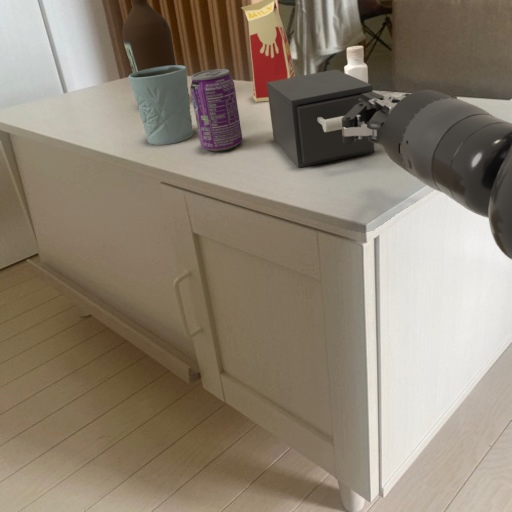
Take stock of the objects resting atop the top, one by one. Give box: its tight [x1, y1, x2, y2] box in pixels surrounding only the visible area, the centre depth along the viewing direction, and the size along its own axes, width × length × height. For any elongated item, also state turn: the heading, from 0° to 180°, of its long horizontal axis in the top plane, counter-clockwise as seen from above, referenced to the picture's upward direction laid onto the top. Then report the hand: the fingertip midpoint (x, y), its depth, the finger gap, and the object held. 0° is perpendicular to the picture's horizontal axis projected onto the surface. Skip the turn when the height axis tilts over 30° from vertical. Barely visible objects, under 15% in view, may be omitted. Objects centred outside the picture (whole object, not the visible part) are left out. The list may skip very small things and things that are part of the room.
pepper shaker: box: [343, 45, 369, 84], centre depth 105 cm, size 4×4×10 cm
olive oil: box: [121, 0, 177, 74], centre depth 120 cm, size 11×11×25 cm
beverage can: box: [189, 68, 243, 152], centre depth 88 cm, size 7×7×12 cm
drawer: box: [297, 93, 375, 163], centre depth 78 cm, size 18×10×8 cm, turn 12°
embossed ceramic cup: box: [128, 64, 194, 146], centre depth 98 cm, size 10×10×12 cm
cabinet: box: [267, 69, 375, 169], centre depth 82 cm, size 15×12×10 cm
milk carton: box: [240, 0, 296, 103], centre depth 113 cm, size 9×9×20 cm
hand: (366, 101), depth 63 cm, fingers closed
